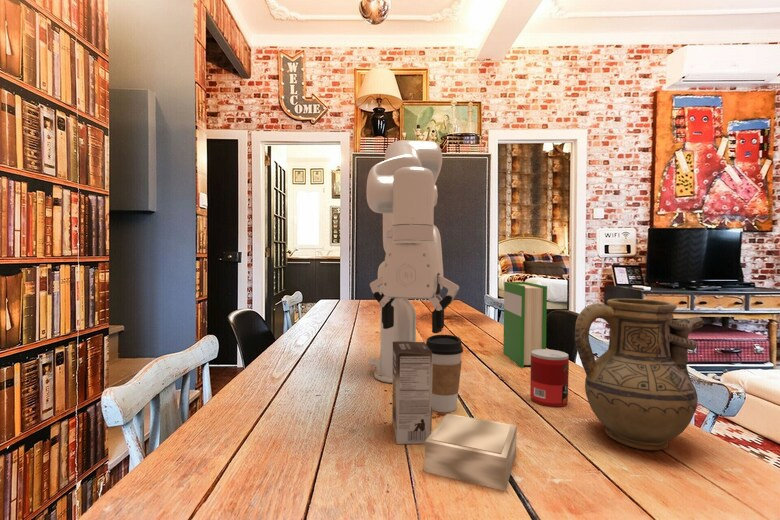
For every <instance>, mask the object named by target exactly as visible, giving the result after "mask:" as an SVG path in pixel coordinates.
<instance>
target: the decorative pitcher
mask: <svg viewBox="0 0 780 520" xmlns="http://www.w3.org/2000/svg"><path fill="white" fill-rule="evenodd" d="M606 303H607V305H606V304H603V303H593V304H589V305H587V306H586V307H584V308H583V309H582V310H581V312H579V314H578V315H577V318H576V321H575V326H574V328H575V329H574V342H575V346H576V347H575V348H576V350H577V354H578V358H580V359H579V360H580V361H581V362H580V363H581V365H582V369H583V370H584V372H585V375H586V376H585V379H584V380H585V381H584V391H585V395H586V399H587V402H588V404H589V406H590V408H591V410H592V412H593V413H594V416H596V418H597V419H598V420H599V422H600V423H601V424H602V425H603V426H605V433H606V435H607V436H608V437H609V438H610V439H612V440H613V441H616V442H618V443H620V444H622V445H624V446H627V447H629V448H634V449H636V450H637V449H638V450H641V451H660V450H661V451H662V450H663V449H666V448H667V447H668V445H669V441H670V440H673V439H675V438H677V437H678V436H680V435H681V434H682V433H683V432H684V431H686V429H687V428H688V426H689V425H690V423H691V421H693V420H692V419H693V417H694V415H695V413H696V411H697V408H698V400H699V399H698V393H697V390H696V387H695V386H694V384H693V382H692V380H691V377H690V373H689V370H688V366H687V365H688V364H687V363H688V359H689V357H688V351H694V350H697V348H698V344H697V342H696V341H695V340H694V339H692V338H689V334H690V333H692V331H693V330H695V329H699V328H702V327H703V326H704V325H705V321H704V320H703V318H702V317H700V316H694V317H685V318H681V319H679V318H678V319H674V314H673V313H674V311H675V310H676V309H677V304H676V303H673V302H669V301H664V300H663V301H662V300H655V299H645V298H644V299H642V298H641V299H640V298H611V299H608V300H607V301H606ZM597 319H602V320H604V321H605V322H606V323H607V324H608V325H609V327H610V328H609V335H608V336H609V337H608V338H609V339H608V341H609V342H608V348H607V350H606V351H605V352H603V353H602V354H601V355H599V356H598V357H597V359H595V356H594V353H593V349H592V346H591V343H590V338H589V337H590V329H591V326H592V324H593V323H594V321H596V320H597Z"/></svg>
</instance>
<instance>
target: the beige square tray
mask: <svg viewBox="0 0 780 520" xmlns="http://www.w3.org/2000/svg"><path fill="white" fill-rule="evenodd" d="M517 427H518V426H517V424H511V423H503V422H499V421H492V420H489V419H488V420H486V419H482V418H476V417H475V418H474V417H469V416H463V415H458V414H452V413H446V414H445V415H444V416H443V418H442V419H441V420H440V421H439V423H438V424H437V426H436V427H434V429H433V430H432V431H431V434H430V435H429V437H428V438H427V439H426V441H425V444H424V473H428V474H433V475H435V476H440V477H445V478H449V479H454V480H457V481H462V482H466V483H470V484H474V485H478V486H484V487H486V488H487V487H488V488H491V489H496V490H500V491H504V492H506V490H507V489H508V488H507V487H508V484H509V480H510V477H511V474H512V470H513V466H514V463H515V459H516V456H517V433H518V431H517V429H518V428H517Z"/></svg>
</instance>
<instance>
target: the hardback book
mask: <svg viewBox="0 0 780 520" xmlns="http://www.w3.org/2000/svg"><path fill="white" fill-rule="evenodd" d="M503 286H504V288H503V289H504V290H503V291H504V292H503V345H502V346H503V348H502V349H503V354H504V355H505V357H507V356H508V357H509V358H508V357H507V358H508V359H509V360H511V361H512V362H513V363H514V362H515V363H516V364H515V363H514V364H515V365H517V366H518V367H519V368H520V369H523V368H525V367H524V366H531V351H533V350H537V349H547V313H548V312H547V307H548V306H547V305H548V286H547V285H541V284H537V283H533V282H528V281H504V285H503Z"/></svg>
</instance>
